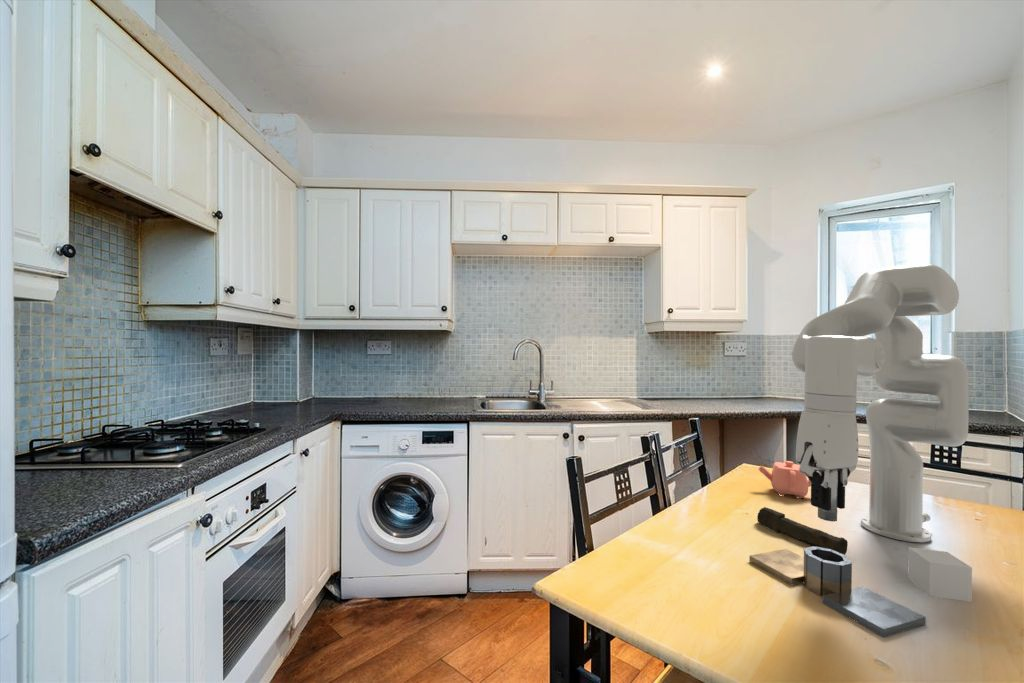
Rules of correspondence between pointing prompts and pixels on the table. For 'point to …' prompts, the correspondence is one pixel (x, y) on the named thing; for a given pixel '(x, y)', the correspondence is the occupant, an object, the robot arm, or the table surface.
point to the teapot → (787, 479)
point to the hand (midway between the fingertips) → (827, 506)
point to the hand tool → (800, 531)
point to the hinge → (839, 588)
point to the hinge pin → (833, 484)
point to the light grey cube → (940, 574)
